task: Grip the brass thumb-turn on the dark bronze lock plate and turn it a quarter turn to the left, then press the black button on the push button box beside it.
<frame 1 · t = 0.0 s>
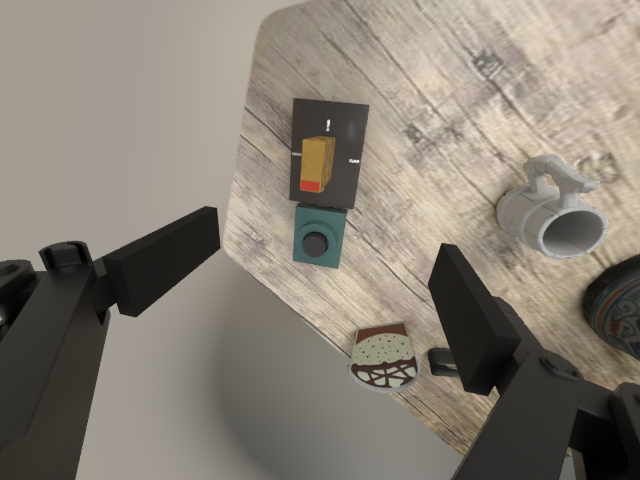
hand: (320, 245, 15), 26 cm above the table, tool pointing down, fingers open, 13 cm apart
lock knob: (319, 161, 32), point 7 cm above the table, hinge at 0.0°
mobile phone: (468, 353, 49), on the table
food container: (384, 335, 51), on the table
bell button: (314, 244, 40), point 4 cm above the table, slide at 0.1 cm
mug: (522, 193, 36), on the table
push button box: (320, 233, 44), on the table
lock plate: (327, 155, 38), on the table
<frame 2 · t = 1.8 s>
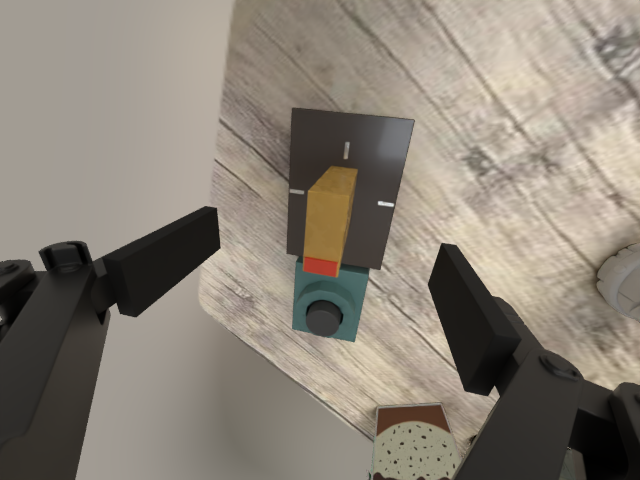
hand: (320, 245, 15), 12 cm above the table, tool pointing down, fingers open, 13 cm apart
lock knob: (333, 213, 19), point 7 cm above the table, hinge at 0.0°
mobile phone: (526, 444, 36), on the table
food container: (412, 416, 38), on the table
bell button: (323, 318, 27), point 4 cm above the table, slide at 0.1 cm
push button box: (329, 293, 31), on the table
lock plate: (343, 190, 26), on the table
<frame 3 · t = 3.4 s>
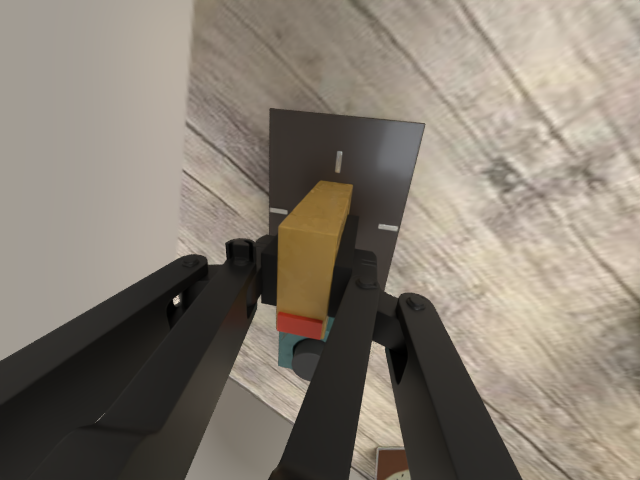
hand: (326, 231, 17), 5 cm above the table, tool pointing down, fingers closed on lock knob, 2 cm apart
lock knob: (321, 245, 15), point 7 cm above the table, hinge at 0.0°, touching gripper
food container: (417, 459, 34), on the table
bell button: (313, 359, 23), point 4 cm above the table, slide at 0.1 cm
push button box: (321, 324, 27), on the table
lock plate: (336, 208, 21), on the table
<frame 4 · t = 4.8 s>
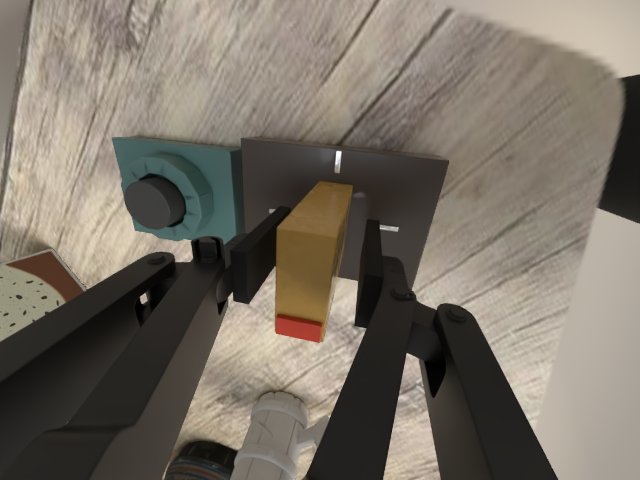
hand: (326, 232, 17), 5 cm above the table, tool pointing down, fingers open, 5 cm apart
lock knob: (320, 246, 15), point 7 cm above the table, hinge at 89.6°
food container: (66, 285, 32), on the table
bell button: (156, 203, 19), point 4 cm above the table, slide at 0.1 cm
beer stein: (216, 467, 45), on the table
mug: (298, 406, 34), on the table
push button box: (193, 189, 23), on the table
lock plate: (336, 209, 21), on the table
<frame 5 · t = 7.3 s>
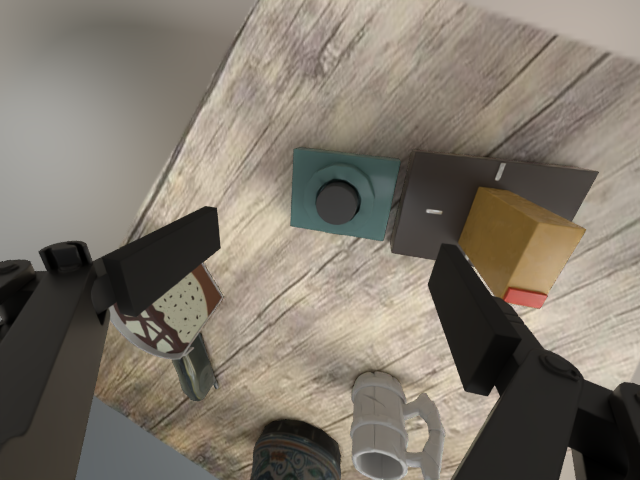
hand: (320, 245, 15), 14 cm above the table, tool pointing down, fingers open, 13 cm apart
lock knob: (504, 238, 19), point 7 cm above the table, hinge at 89.6°
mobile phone: (204, 353, 43), on the table
food container: (192, 274, 36), on the table
bell button: (337, 203, 23), point 4 cm above the table, slide at 0.1 cm
beer stein: (294, 444, 49), on the table
mug: (391, 385, 38), on the table
push button box: (342, 191, 27), on the table
lock plate: (471, 209, 25), on the table
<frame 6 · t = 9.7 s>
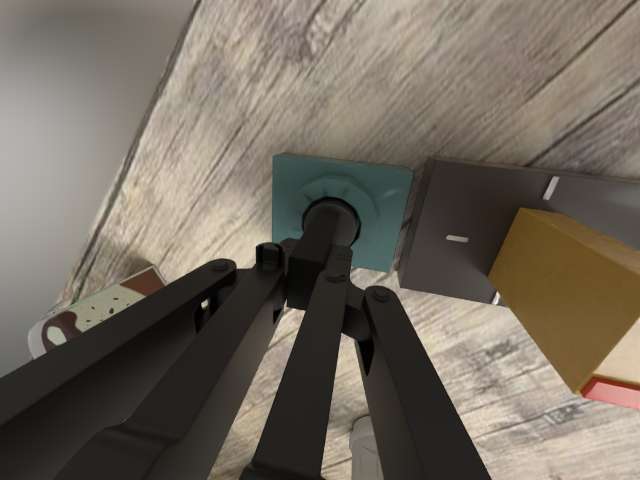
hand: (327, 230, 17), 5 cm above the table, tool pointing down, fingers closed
lock knob: (566, 286, 13), point 7 cm above the table, hinge at 89.6°
food container: (159, 302, 31), on the table
bell button: (331, 224, 18), point 4 cm above the table, slide at -0.6 cm, touching gripper
mug: (396, 430, 32), on the table
push button box: (337, 208, 21), on the table
lock plate: (503, 233, 20), on the table
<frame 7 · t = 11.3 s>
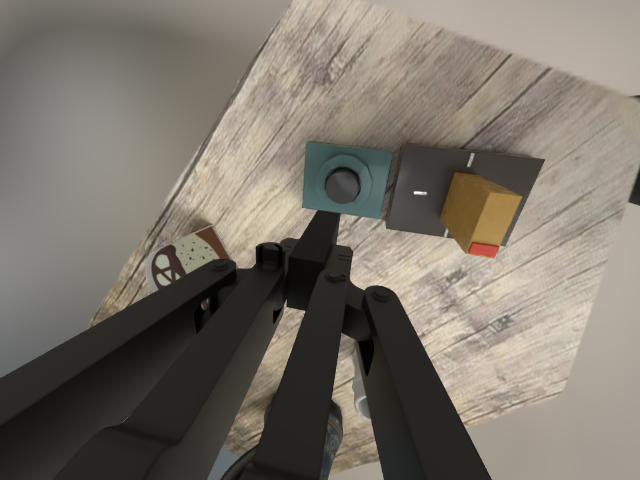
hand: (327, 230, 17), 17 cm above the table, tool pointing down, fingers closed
lock knob: (472, 210, 25), point 7 cm above the table, hinge at 89.6°
food container: (212, 254, 41), on the table
bell button: (342, 186, 28), point 4 cm above the table, slide at 0.1 cm
beer stein: (300, 411, 55), on the table
mug: (387, 349, 43), on the table
push button box: (345, 178, 32), on the table
lock plate: (451, 192, 31), on the table
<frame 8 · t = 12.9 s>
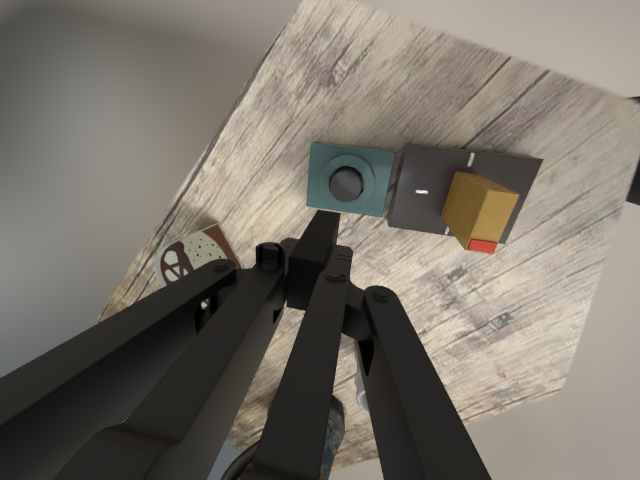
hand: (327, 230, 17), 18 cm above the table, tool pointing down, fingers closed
lock knob: (472, 208, 25), point 7 cm above the table, hinge at 89.6°
food container: (218, 251, 43), on the table
bell button: (345, 185, 29), point 4 cm above the table, slide at 0.1 cm
beer stein: (303, 407, 56), on the table
mug: (389, 346, 44), on the table
push button box: (349, 177, 33), on the table
lock plate: (452, 191, 32), on the table
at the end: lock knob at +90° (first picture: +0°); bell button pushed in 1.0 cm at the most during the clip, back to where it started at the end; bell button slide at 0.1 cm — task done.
